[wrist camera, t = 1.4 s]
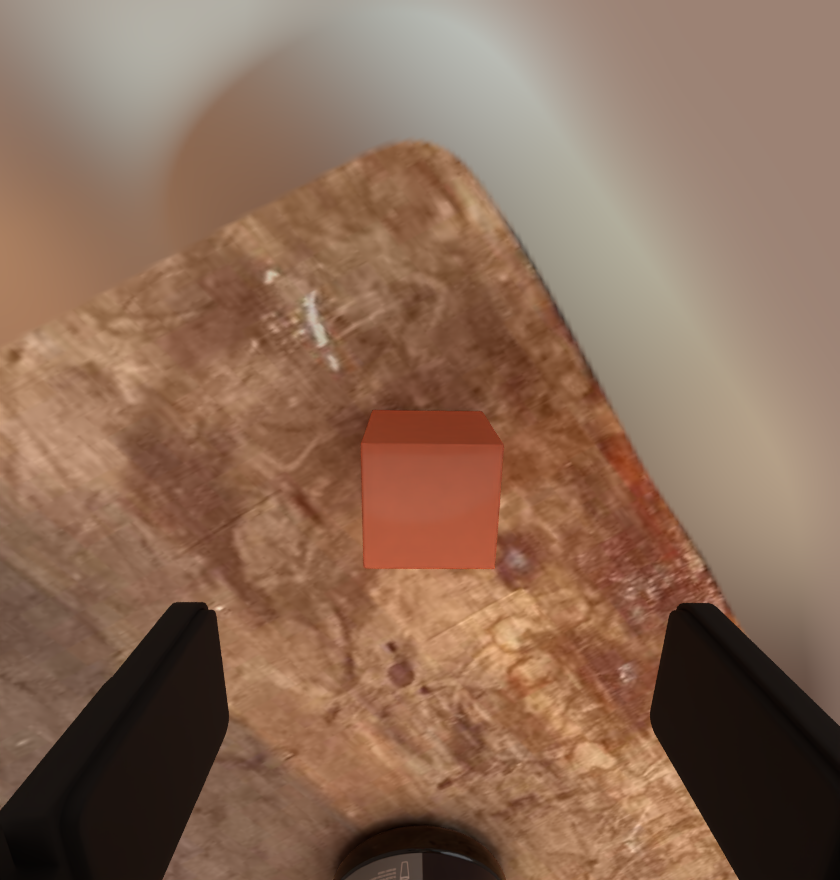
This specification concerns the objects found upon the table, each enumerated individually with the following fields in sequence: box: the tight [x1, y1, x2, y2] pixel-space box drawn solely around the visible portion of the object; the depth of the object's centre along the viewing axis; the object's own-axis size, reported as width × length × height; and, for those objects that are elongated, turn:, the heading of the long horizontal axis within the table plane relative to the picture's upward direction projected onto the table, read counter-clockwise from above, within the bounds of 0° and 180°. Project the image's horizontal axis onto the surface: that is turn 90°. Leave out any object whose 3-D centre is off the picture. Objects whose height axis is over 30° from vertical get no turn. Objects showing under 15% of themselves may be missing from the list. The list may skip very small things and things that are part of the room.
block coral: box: [361, 410, 504, 569], centre depth 17 cm, size 5×5×5 cm
